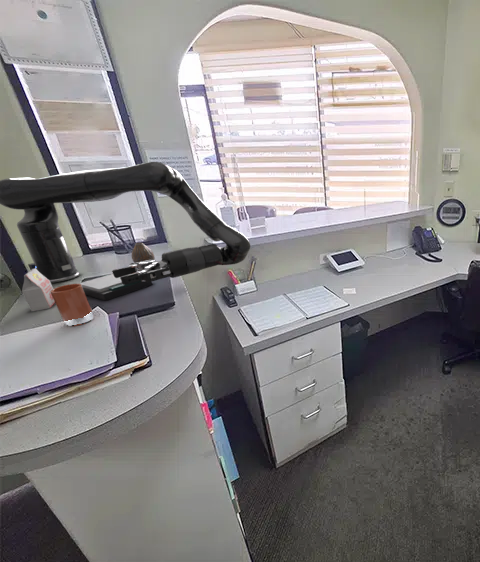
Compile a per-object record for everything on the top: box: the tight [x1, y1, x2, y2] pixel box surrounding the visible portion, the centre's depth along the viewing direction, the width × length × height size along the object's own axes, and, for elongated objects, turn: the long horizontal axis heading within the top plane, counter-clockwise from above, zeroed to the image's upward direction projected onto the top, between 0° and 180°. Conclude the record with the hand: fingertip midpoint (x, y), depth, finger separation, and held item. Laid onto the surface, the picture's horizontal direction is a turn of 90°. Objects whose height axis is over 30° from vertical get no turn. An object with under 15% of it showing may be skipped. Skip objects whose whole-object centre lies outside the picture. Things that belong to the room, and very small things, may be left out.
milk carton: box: [21, 268, 56, 312], centre depth 85 cm, size 4×7×10 cm, turn 31°
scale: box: [78, 273, 153, 301], centre depth 96 cm, size 15×13×3 cm
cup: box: [50, 283, 93, 327], centre depth 75 cm, size 5×5×9 cm
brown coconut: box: [130, 242, 156, 263], centre depth 117 cm, size 7×7×9 cm
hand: (117, 277), depth 80 cm, fingers open, 8 cm apart
